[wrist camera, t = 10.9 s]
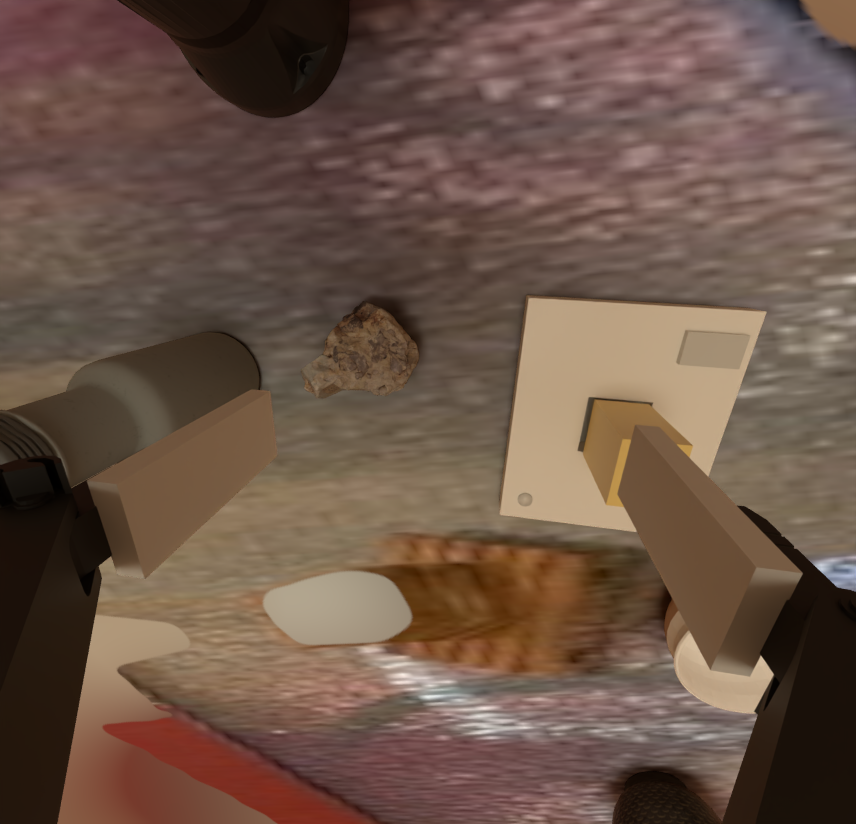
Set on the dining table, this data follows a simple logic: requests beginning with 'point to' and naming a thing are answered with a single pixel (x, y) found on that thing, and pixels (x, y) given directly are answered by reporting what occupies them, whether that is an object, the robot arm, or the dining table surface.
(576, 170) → the dining table surface
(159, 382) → the water bottle
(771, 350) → the dining table surface
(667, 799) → the planter
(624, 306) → the socket plate
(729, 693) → the bowl
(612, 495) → the plug
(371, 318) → the rock
